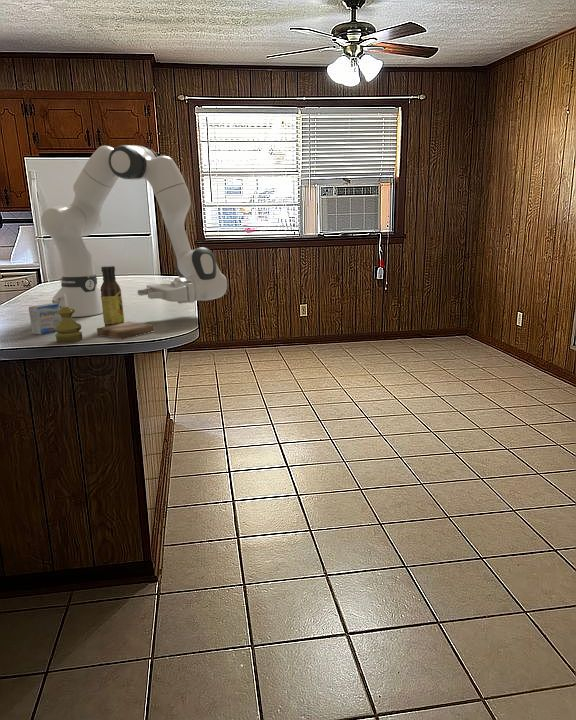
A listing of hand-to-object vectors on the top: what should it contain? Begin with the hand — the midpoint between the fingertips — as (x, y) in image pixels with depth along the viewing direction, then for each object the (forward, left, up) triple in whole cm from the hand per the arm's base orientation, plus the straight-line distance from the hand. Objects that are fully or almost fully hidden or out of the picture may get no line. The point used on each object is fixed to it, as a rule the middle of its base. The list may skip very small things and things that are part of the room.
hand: (143, 294), depth 184 cm
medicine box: (-19, -24, -10) cm, 32 cm away
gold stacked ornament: (-1, -28, -10) cm, 30 cm away
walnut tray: (+6, -13, -10) cm, 17 cm away
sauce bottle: (-4, -10, -10) cm, 15 cm away
